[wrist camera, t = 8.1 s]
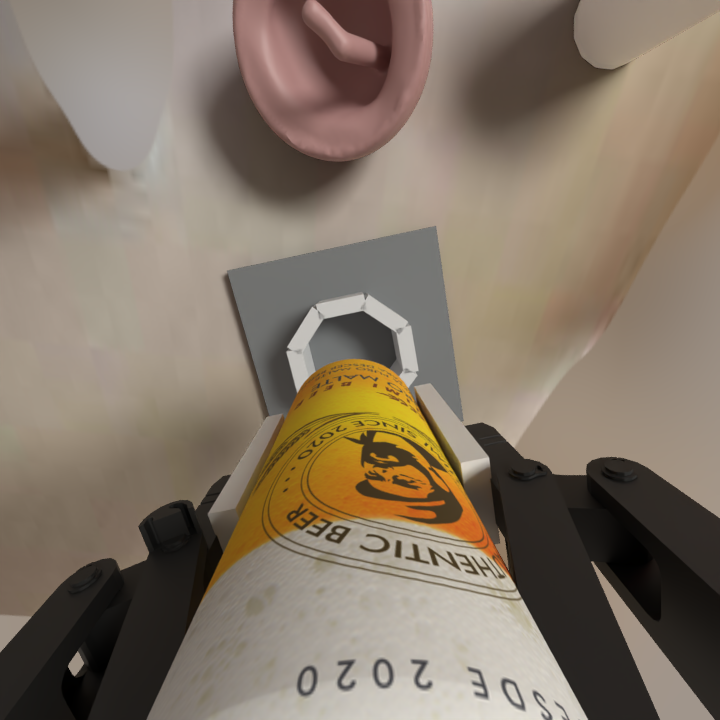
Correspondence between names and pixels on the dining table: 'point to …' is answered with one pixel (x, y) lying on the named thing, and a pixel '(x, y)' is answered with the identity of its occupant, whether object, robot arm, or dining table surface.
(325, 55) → the mortar and pestle
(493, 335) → the dining table surface
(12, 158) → the dining table surface
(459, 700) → the beer can
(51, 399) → the dining table surface
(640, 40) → the foam cup
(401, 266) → the socket
